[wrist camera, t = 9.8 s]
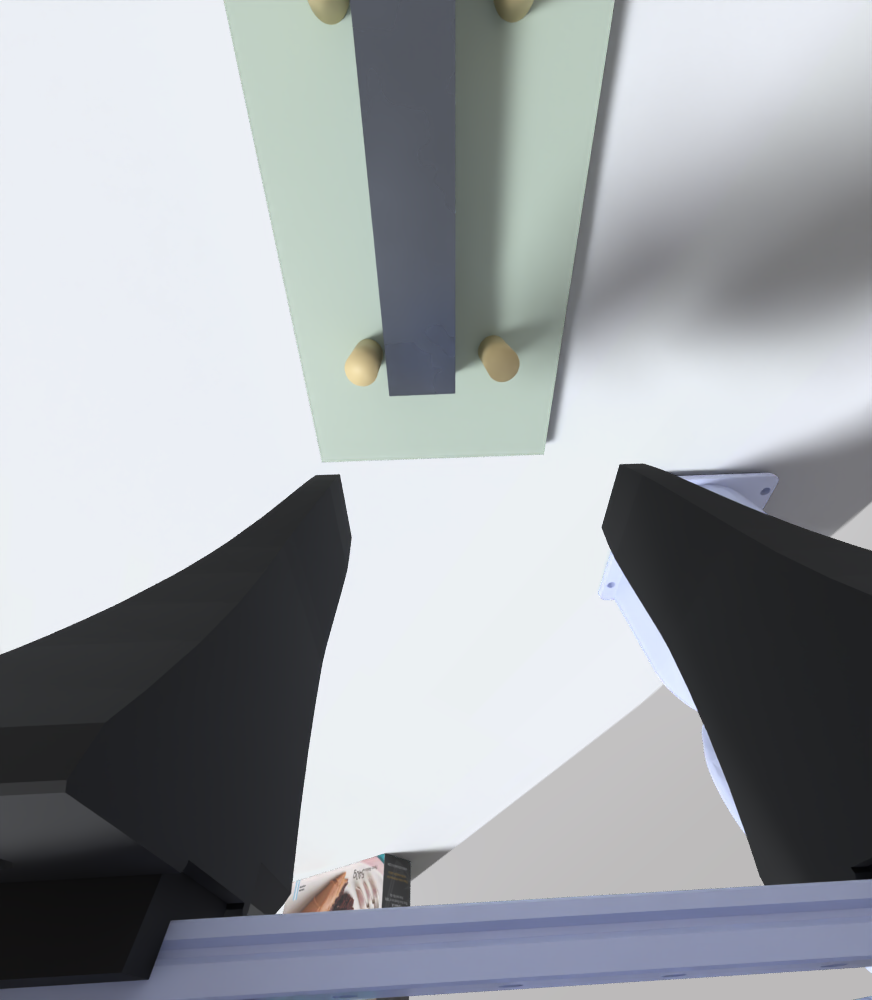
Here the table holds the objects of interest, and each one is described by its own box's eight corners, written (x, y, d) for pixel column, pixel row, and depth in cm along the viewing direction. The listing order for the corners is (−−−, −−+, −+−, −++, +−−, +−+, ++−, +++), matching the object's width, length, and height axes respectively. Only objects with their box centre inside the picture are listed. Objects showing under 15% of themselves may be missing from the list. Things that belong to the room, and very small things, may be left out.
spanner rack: (538, 445, 19) (559, 480, 17) (326, 453, 19) (309, 489, 16) (656, -370, 8) (783, -702, 5) (158, -375, 8) (13, -722, 5)
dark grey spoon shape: (467, 373, 16) (475, 392, 14) (375, 377, 16) (369, 397, 14) (481, -343, 8) (503, -561, 6) (292, -339, 8) (244, -562, 6)
